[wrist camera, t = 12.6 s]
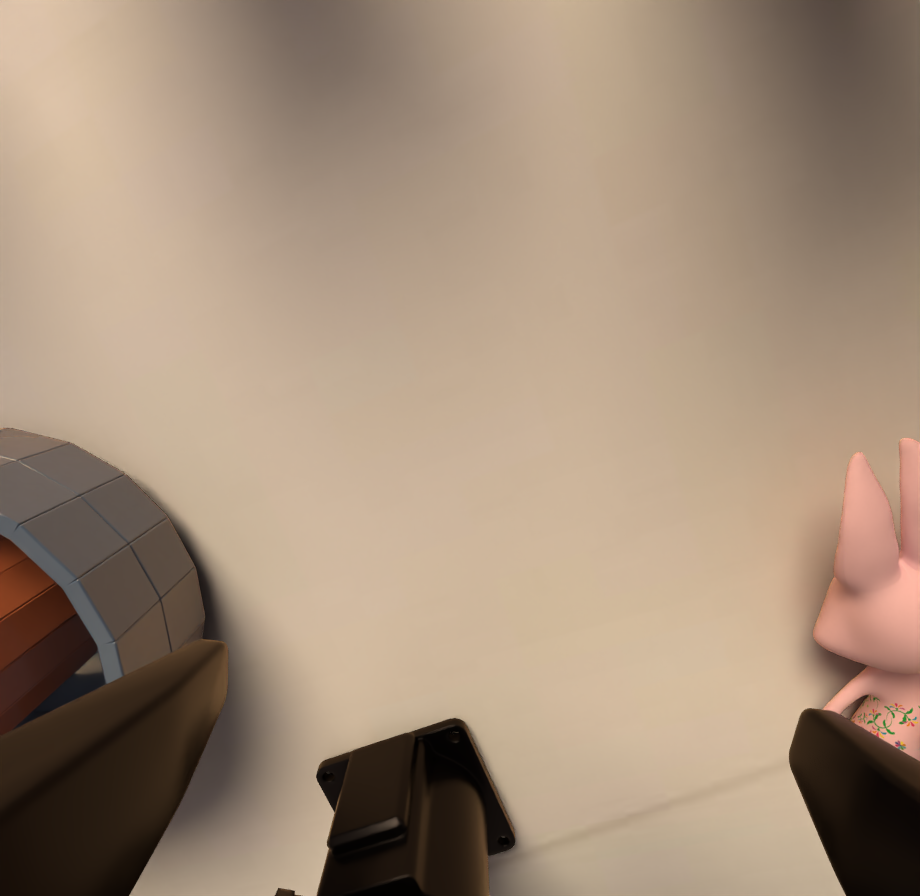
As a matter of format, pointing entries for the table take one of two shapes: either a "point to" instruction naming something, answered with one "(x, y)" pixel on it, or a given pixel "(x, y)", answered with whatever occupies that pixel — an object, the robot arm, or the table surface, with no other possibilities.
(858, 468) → the rabbit figure
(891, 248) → the table surface
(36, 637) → the cup
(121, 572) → the bowl
